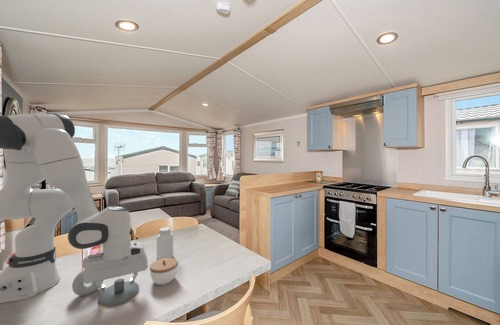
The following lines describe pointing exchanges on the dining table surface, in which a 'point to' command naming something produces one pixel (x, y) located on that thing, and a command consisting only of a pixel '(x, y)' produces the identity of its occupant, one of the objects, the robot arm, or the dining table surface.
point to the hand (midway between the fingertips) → (117, 287)
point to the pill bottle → (164, 243)
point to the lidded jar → (163, 270)
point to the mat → (128, 300)
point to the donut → (80, 287)
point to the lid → (118, 293)
